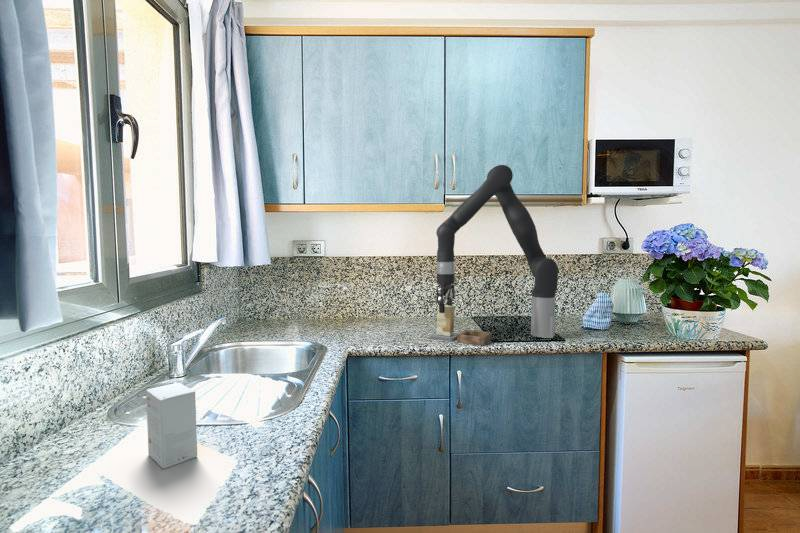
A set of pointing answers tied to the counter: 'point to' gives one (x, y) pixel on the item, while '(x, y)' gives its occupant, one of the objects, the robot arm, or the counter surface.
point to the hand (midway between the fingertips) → (445, 311)
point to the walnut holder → (474, 337)
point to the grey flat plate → (444, 337)
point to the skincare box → (446, 321)
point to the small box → (171, 424)
